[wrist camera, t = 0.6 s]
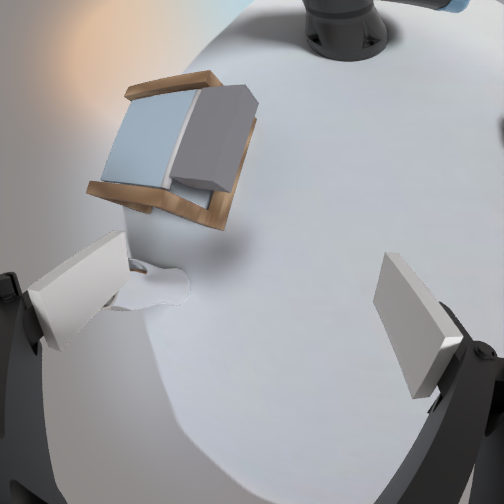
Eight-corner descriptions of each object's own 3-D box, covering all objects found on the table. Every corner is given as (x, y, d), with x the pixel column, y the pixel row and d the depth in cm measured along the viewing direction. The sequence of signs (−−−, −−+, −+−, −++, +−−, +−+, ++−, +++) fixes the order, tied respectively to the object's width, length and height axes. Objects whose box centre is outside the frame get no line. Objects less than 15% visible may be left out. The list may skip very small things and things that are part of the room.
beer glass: (185, 258, 44) (113, 244, 31) (199, 299, 43) (126, 300, 29) (155, 275, 47) (83, 268, 33) (167, 314, 45) (94, 318, 31)
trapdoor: (228, 201, 31) (209, 190, 27) (112, 184, 40) (93, 177, 36) (260, 97, 31) (247, 78, 28) (141, 107, 40) (126, 96, 37)
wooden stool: (171, 121, 50) (125, 87, 38) (256, 119, 43) (216, 69, 30) (139, 211, 50) (83, 192, 38) (223, 230, 42) (165, 207, 30)
